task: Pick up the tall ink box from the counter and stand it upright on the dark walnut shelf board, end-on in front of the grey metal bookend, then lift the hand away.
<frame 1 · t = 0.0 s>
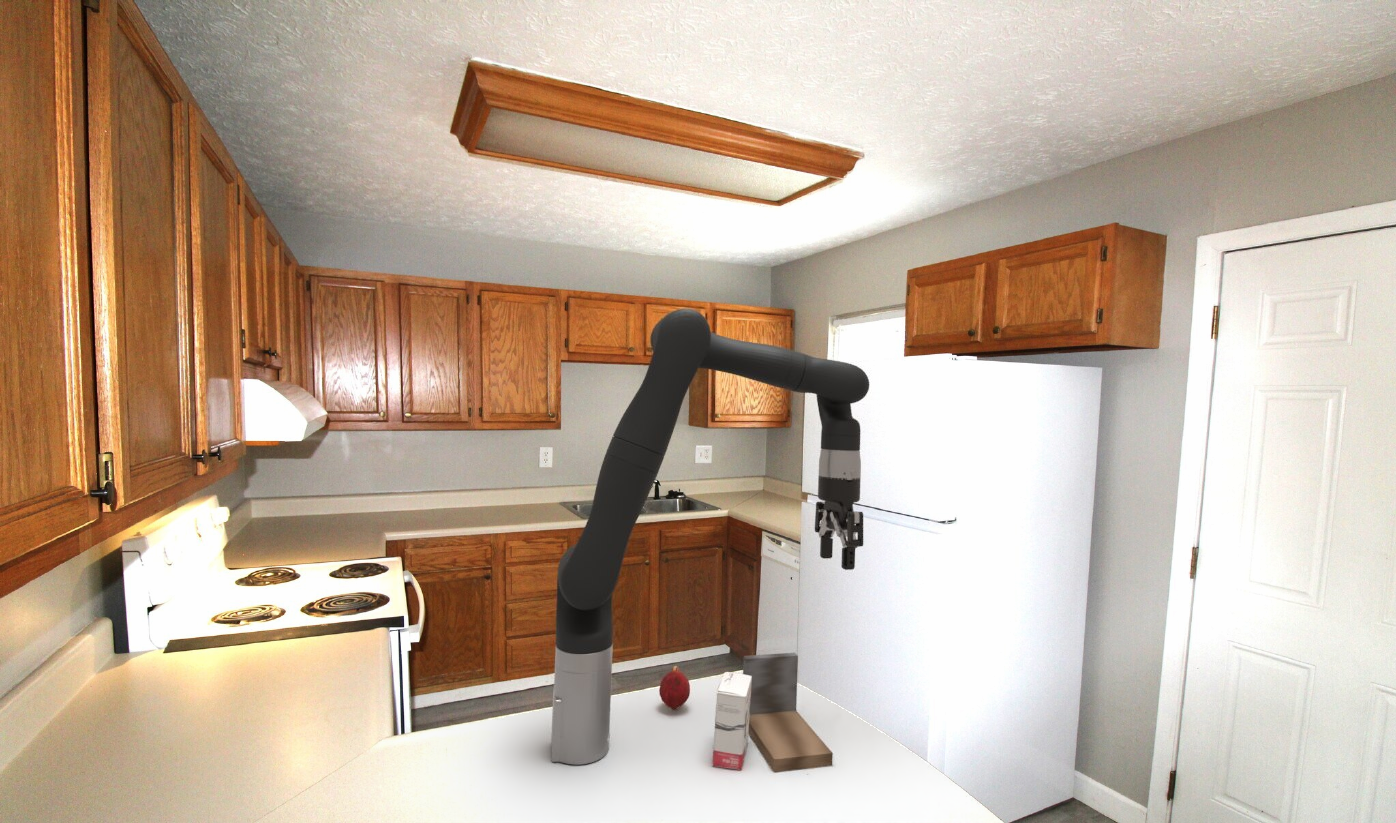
hand: (836, 563, 111), 29 cm above the countertop, tool pointing down, fingers open, 8 cm apart
ink box: (731, 756, 100), on the countertop
shelf board: (784, 742, 104), on the countertop
onion: (674, 710, 115), on the countertop
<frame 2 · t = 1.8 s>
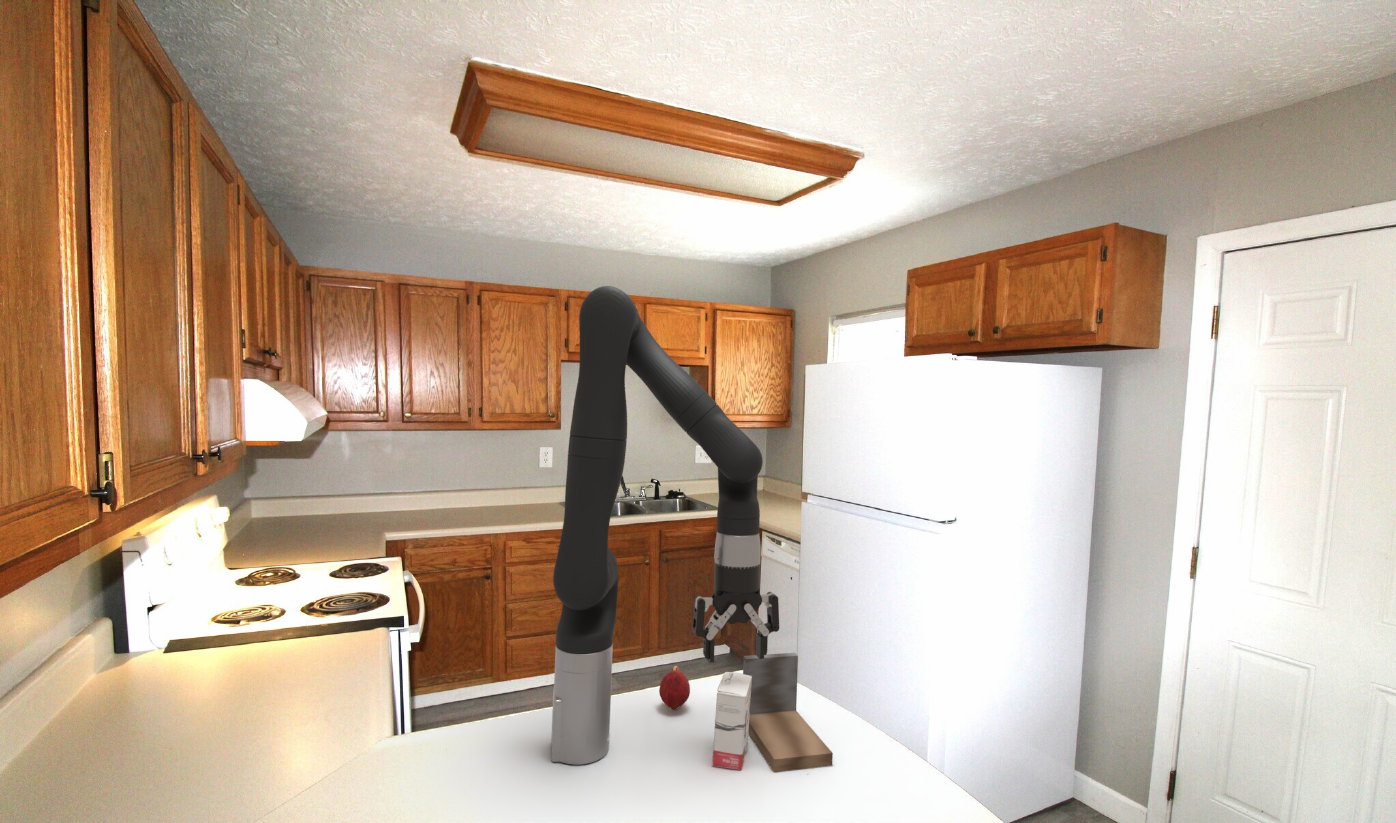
hand: (735, 659, 100), 16 cm above the countertop, tool pointing down, fingers open, 8 cm apart
nothing on the countertop moved.
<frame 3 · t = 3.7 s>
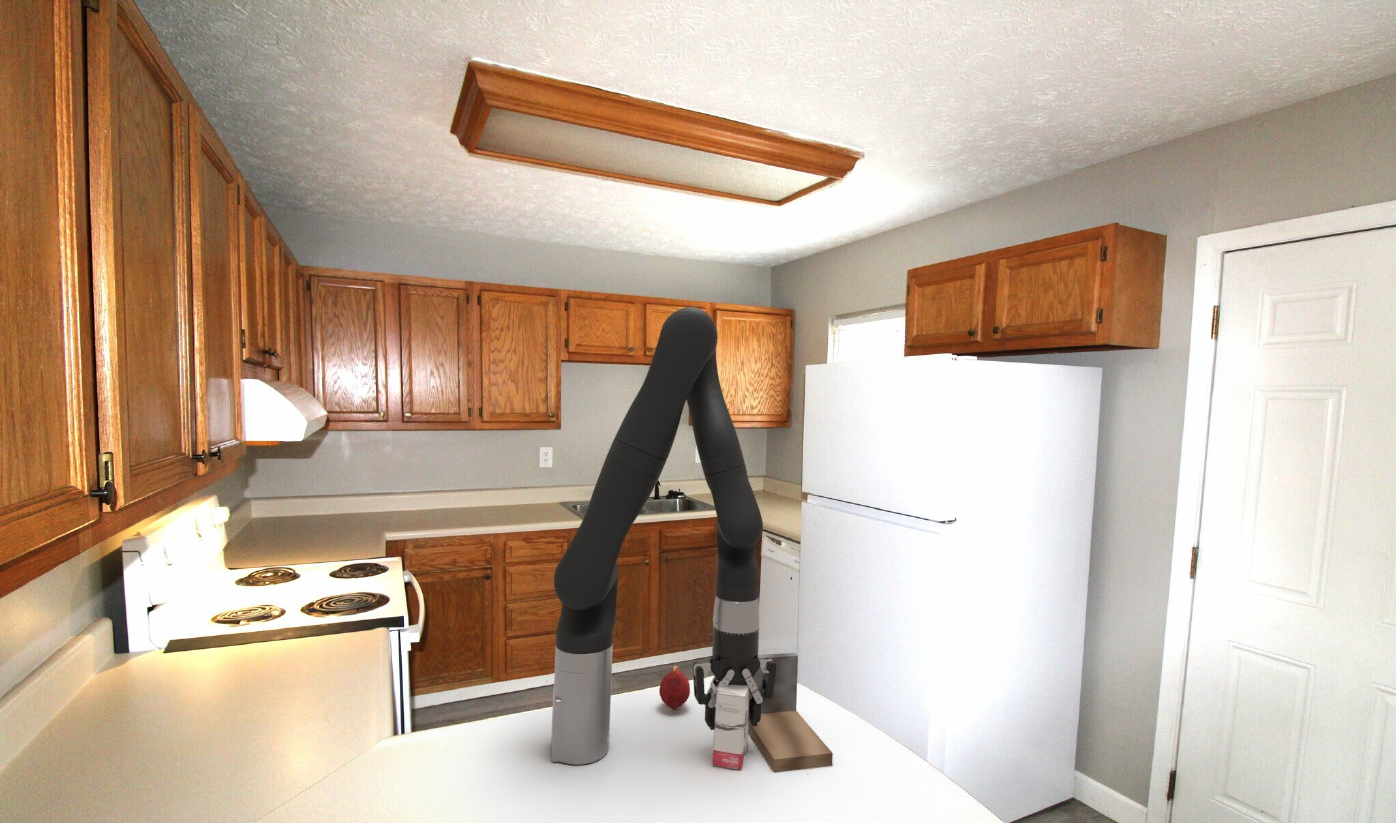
hand: (732, 725, 100), 5 cm above the countertop, tool pointing down, fingers closed on ink box, 6 cm apart
ink box: (731, 756, 100), on the countertop, touching gripper
everything else where it was.
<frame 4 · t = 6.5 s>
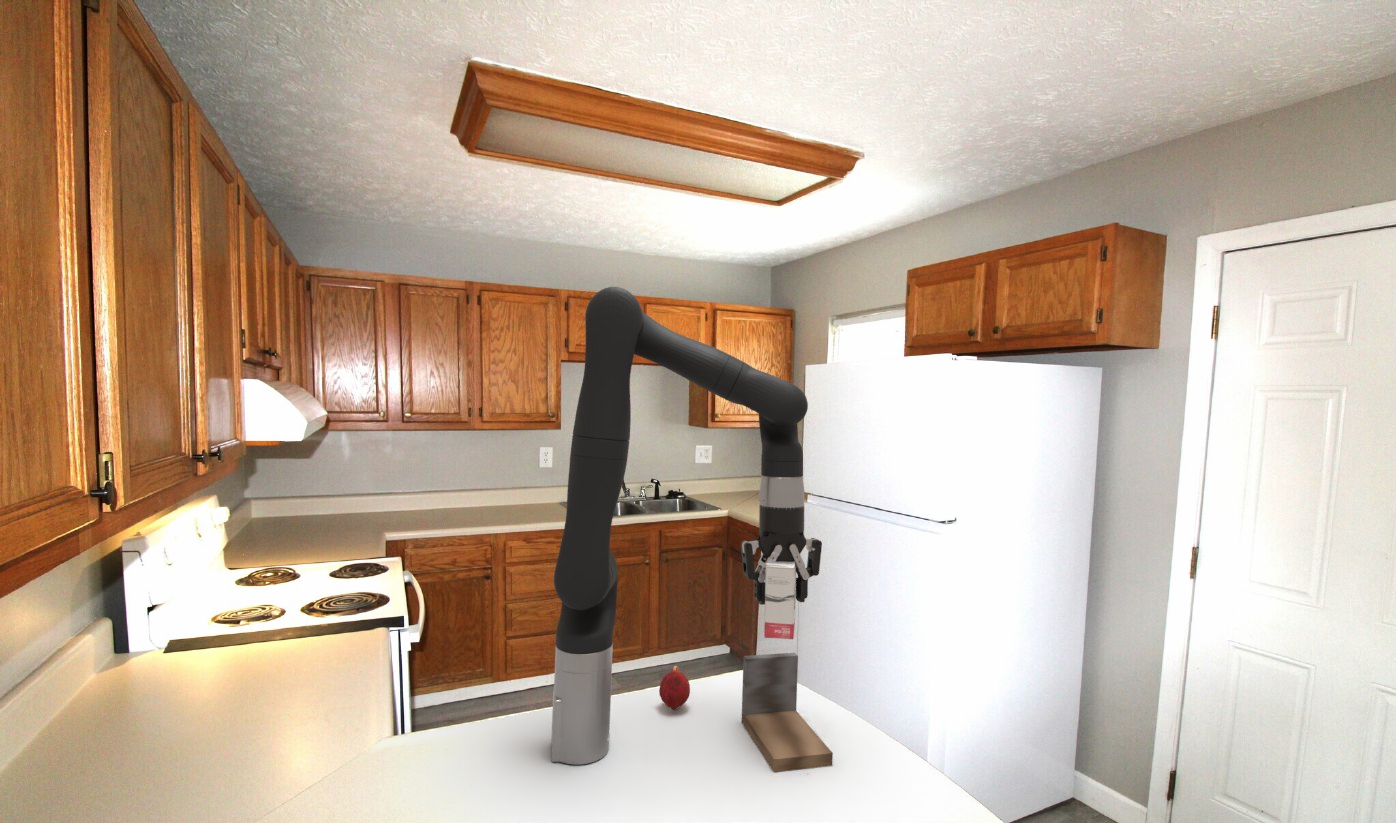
hand: (781, 601, 103), 24 cm above the countertop, tool pointing down, fingers closed on ink box, 6 cm apart
ink box: (781, 632, 102), point 19 cm above the countertop, touching gripper
everything else where it was.
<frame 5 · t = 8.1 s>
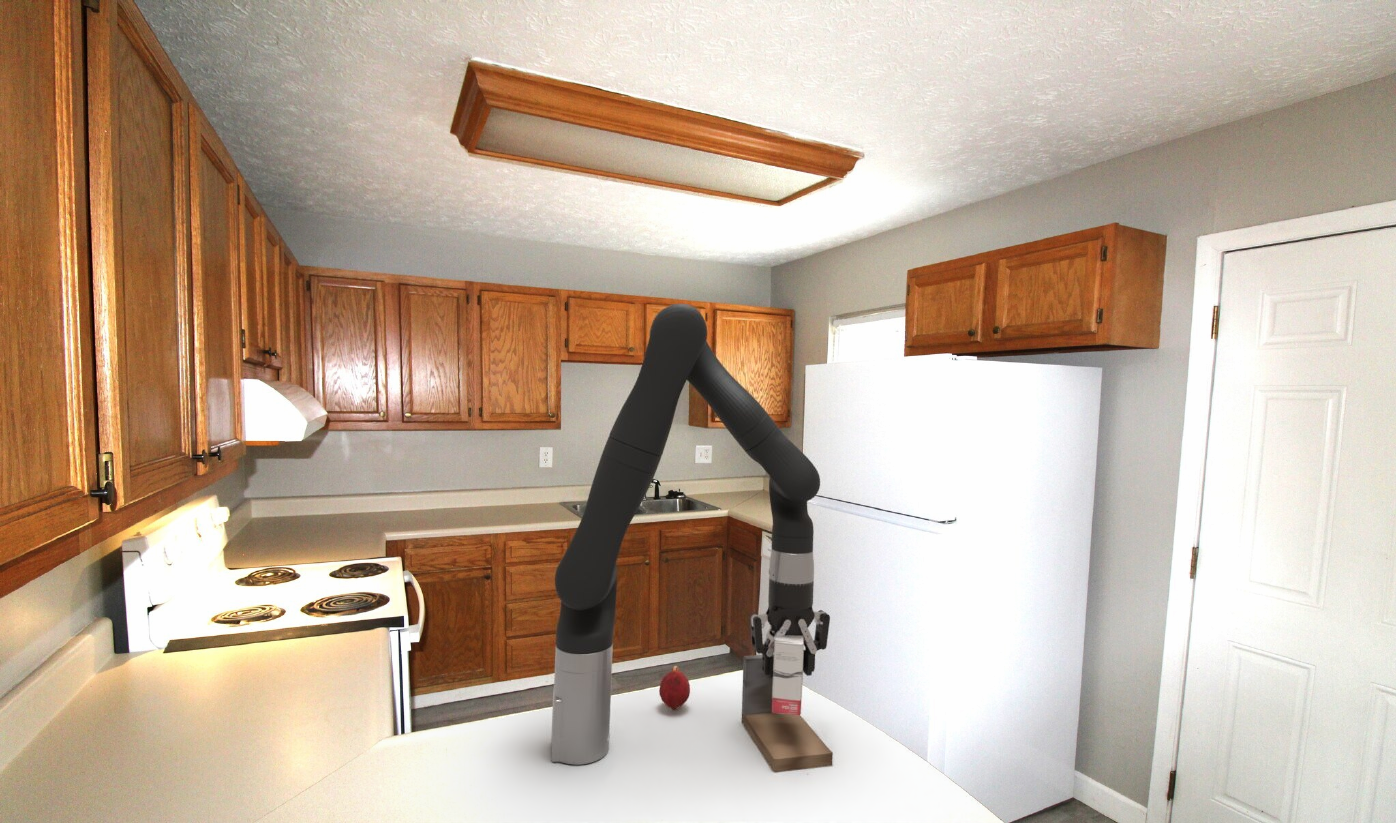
hand: (788, 674, 103), 12 cm above the countertop, tool pointing down, fingers closed on ink box, 6 cm apart
ink box: (787, 704, 103), point 7 cm above the countertop, touching gripper
everything else where it was.
when the fingers open (8 cm above the countertop, at t = 9.5 s): ink box drops 1 cm, resting on shelf board.
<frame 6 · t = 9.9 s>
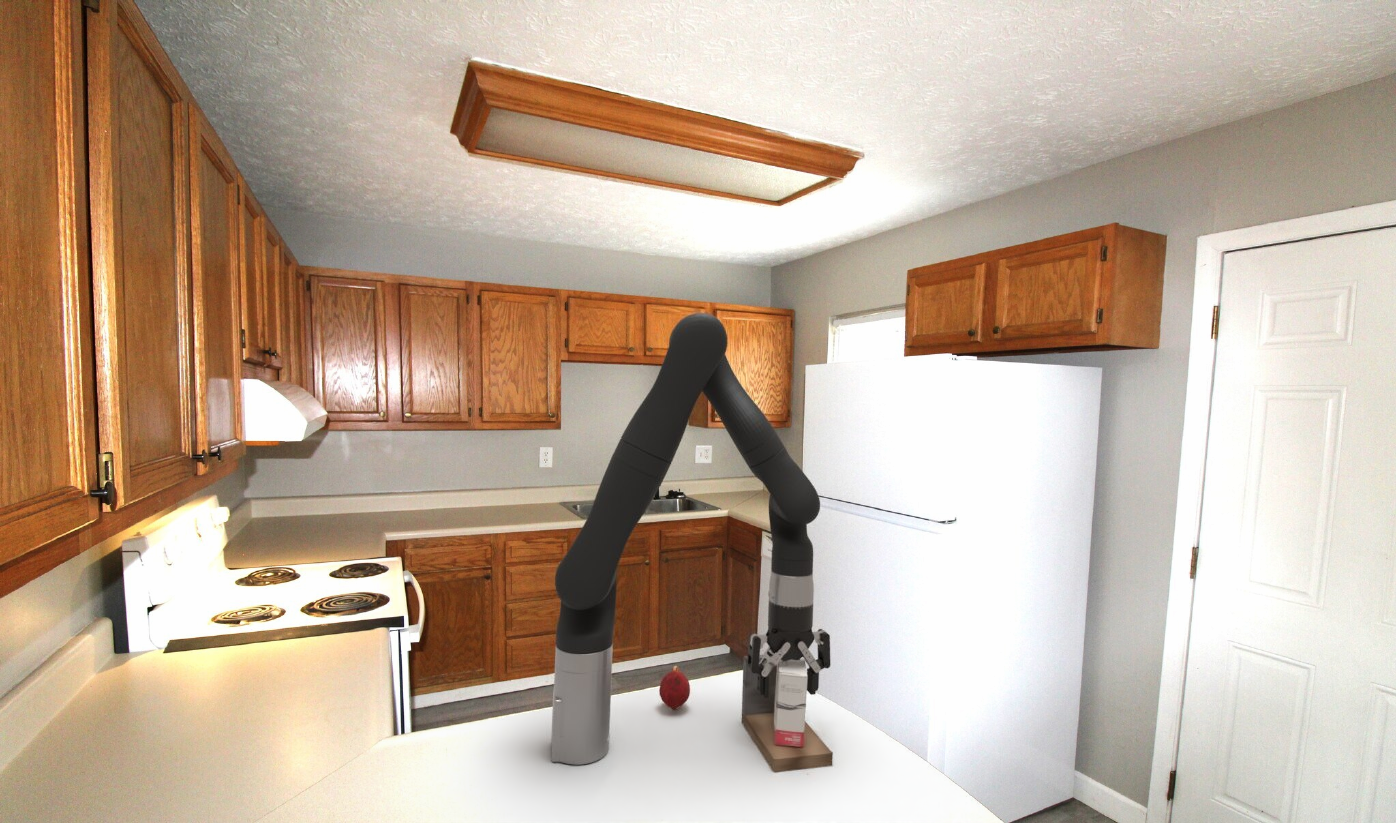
hand: (787, 694, 103), 9 cm above the countertop, tool pointing down, fingers open, 8 cm apart
ink box: (788, 735, 103), point 2 cm above the countertop, touching shelf board
everything else where it was.
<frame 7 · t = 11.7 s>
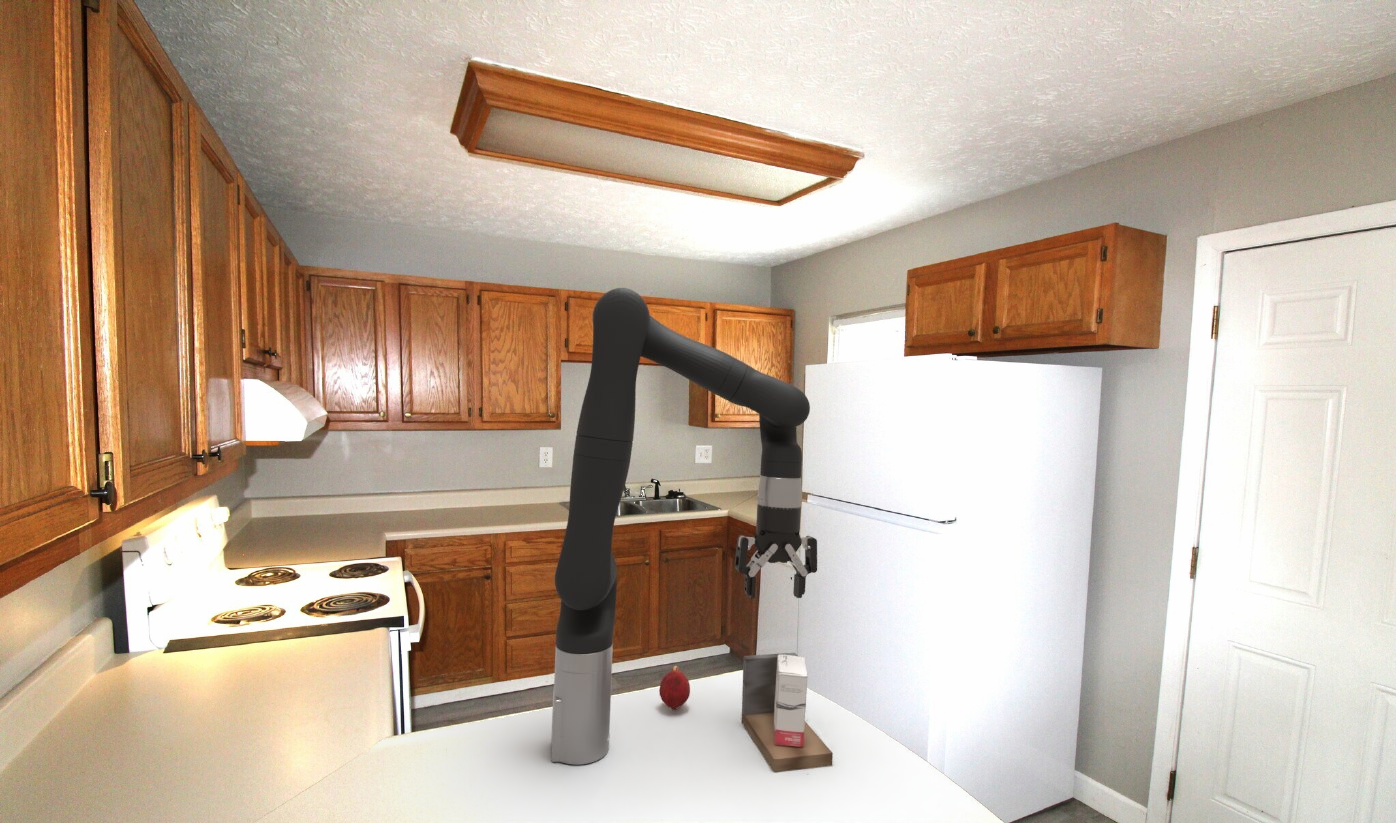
hand: (774, 597, 105), 25 cm above the countertop, tool pointing down, fingers open, 8 cm apart
nothing on the countertop moved.
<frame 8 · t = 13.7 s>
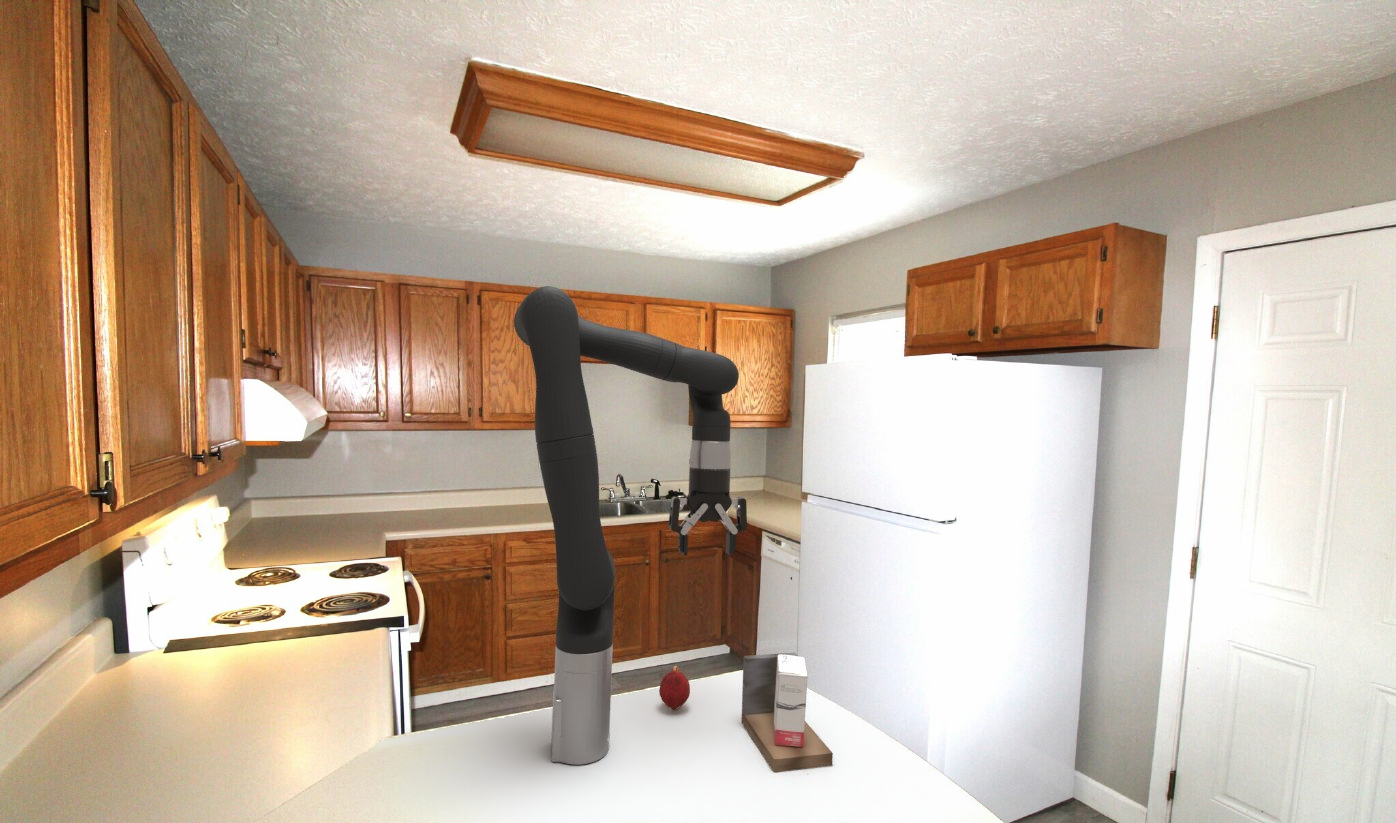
hand: (706, 554, 111), 30 cm above the countertop, tool pointing down, fingers open, 8 cm apart
nothing on the countertop moved.
at the end: ink box inside the target area on the shelf board (0.7 cm from its centre), point 1.8 cm above the shelf board's base; ink box tilted 0°; the gripper is holding nothing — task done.
